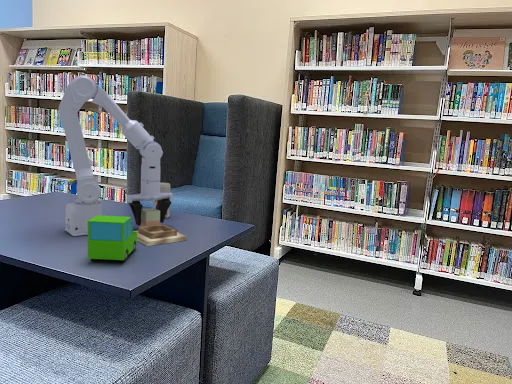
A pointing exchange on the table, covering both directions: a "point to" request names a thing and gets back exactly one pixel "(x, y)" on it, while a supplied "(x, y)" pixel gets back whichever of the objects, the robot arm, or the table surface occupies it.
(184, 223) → the table surface
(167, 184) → the energy drink
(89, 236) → the toy car
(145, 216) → the green and red block
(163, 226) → the socket plate
